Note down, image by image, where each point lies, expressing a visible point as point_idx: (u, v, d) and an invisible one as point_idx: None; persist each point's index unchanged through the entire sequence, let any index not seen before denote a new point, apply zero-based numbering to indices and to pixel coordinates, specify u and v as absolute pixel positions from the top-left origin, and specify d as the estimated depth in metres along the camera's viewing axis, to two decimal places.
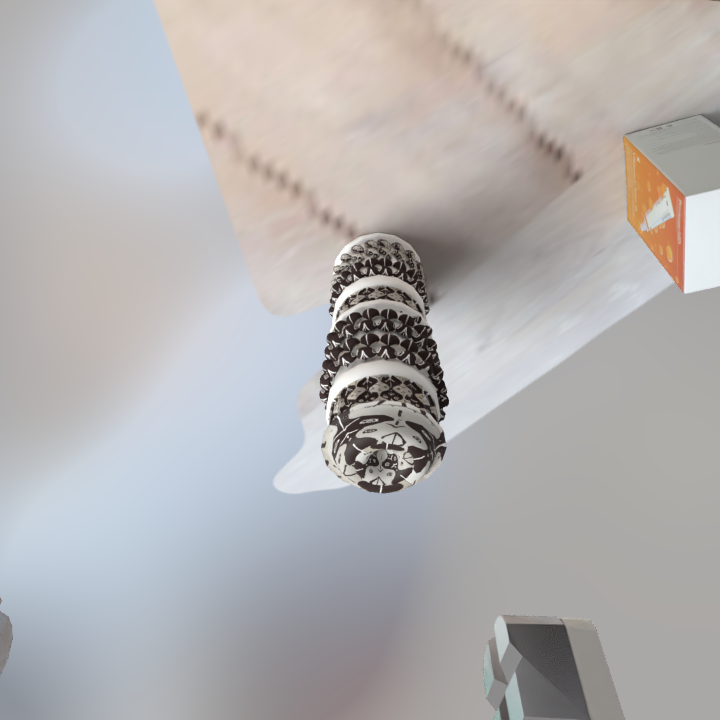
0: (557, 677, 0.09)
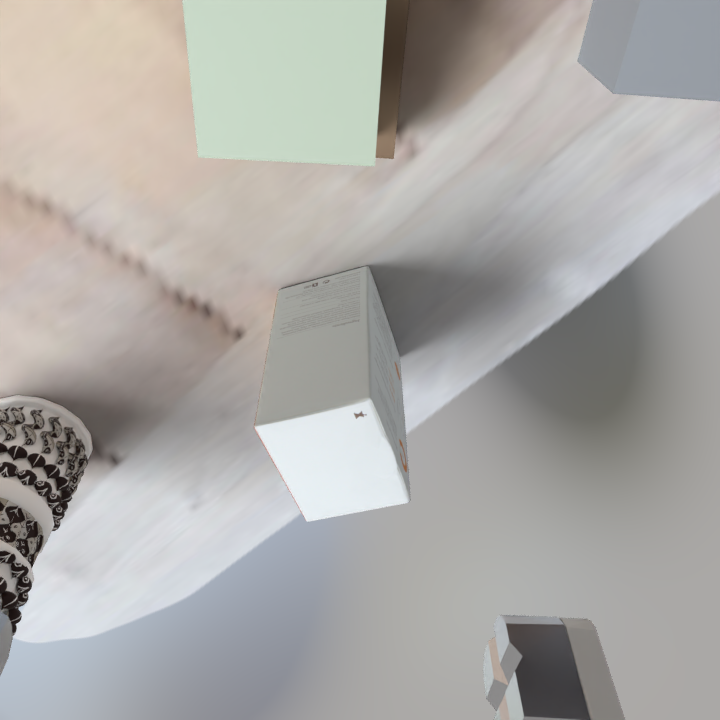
0: (557, 677, 0.09)
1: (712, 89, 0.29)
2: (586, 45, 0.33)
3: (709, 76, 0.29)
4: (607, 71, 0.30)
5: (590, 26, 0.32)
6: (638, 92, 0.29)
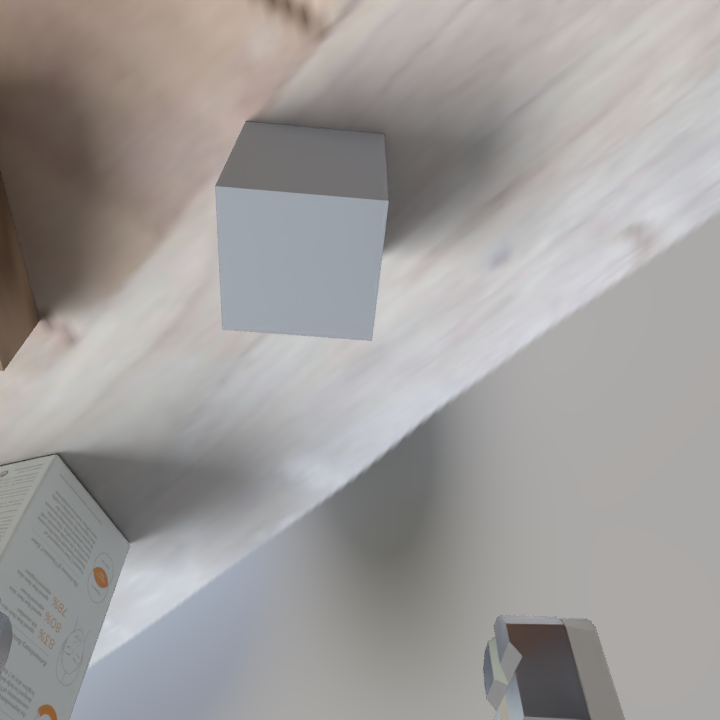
0: (557, 677, 0.09)
1: (354, 327, 0.21)
2: None
3: (346, 313, 0.21)
4: None
5: None
6: (256, 328, 0.22)
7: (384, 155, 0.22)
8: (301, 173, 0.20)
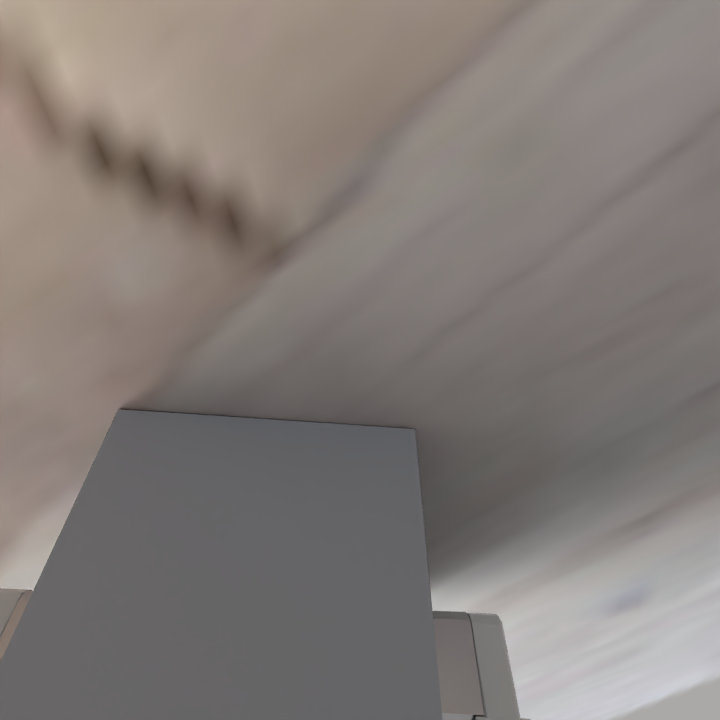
0: (455, 672, 0.09)
1: None
2: None
3: None
4: None
5: None
6: None
7: (422, 537, 0.09)
8: (207, 684, 0.07)
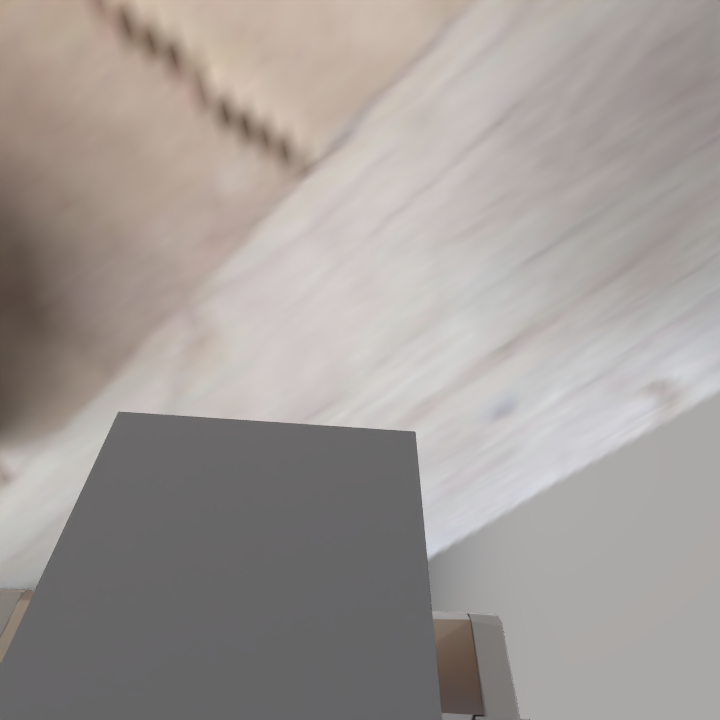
0: (455, 672, 0.09)
1: None
2: None
3: None
4: None
5: None
6: None
7: (422, 540, 0.09)
8: (207, 688, 0.07)
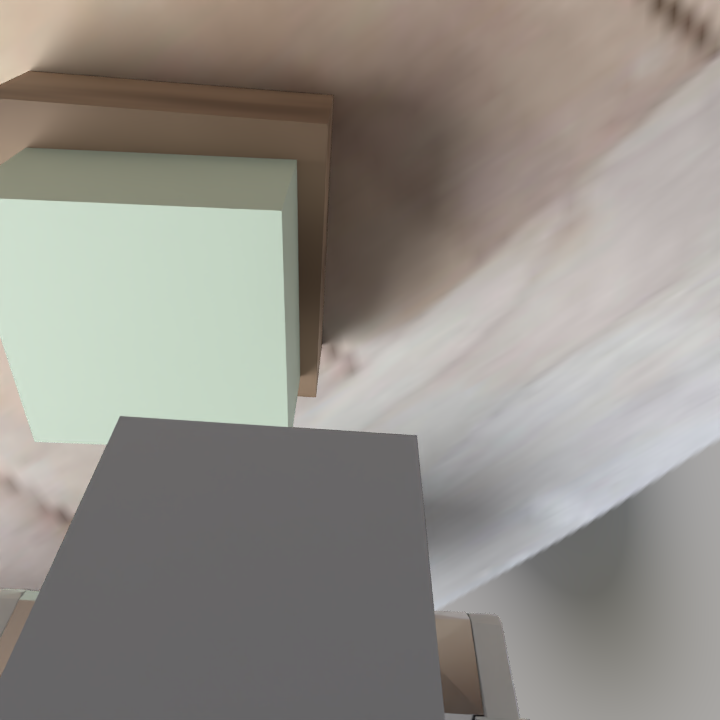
0: (455, 672, 0.09)
1: None
2: None
3: None
4: None
5: None
6: None
7: (425, 545, 0.09)
8: (210, 694, 0.07)
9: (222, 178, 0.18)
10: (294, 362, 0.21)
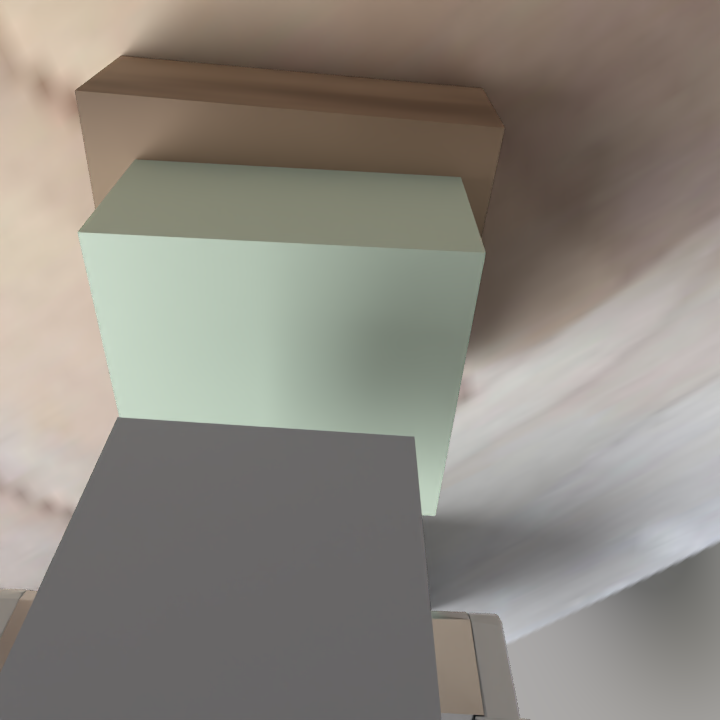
0: (455, 672, 0.09)
1: None
2: None
3: None
4: None
5: None
6: None
7: (422, 546, 0.09)
8: (207, 696, 0.07)
9: (390, 205, 0.14)
10: None
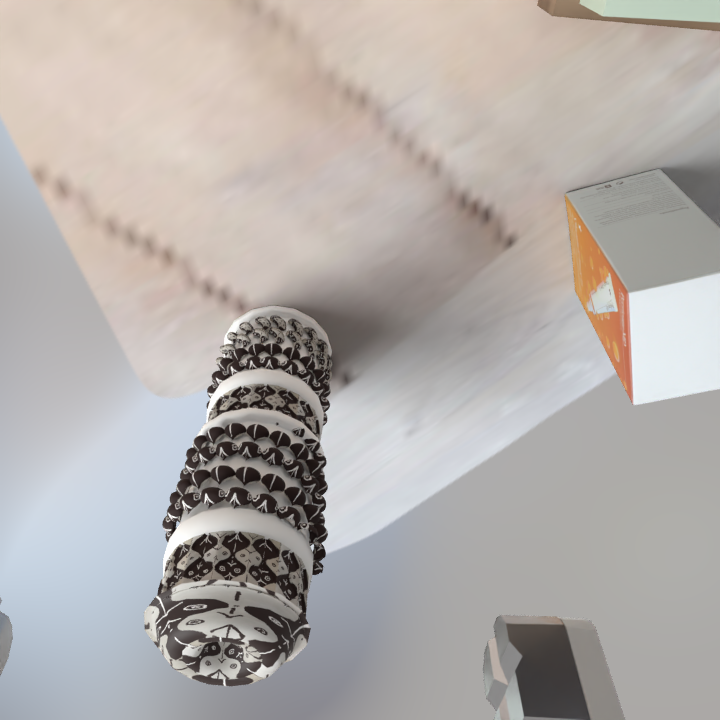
0: (557, 677, 0.09)
1: None
2: None
3: None
4: None
5: None
6: None
7: None
8: None
9: None
10: None
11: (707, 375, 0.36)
